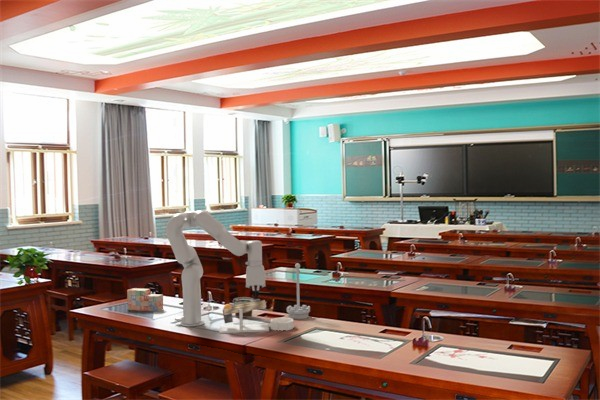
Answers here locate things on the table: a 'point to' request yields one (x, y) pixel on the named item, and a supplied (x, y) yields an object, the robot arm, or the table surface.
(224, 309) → the ball
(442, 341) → the table surface
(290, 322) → the white bowl
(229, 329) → the catapult stand
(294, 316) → the flag stand
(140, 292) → the stack of blocks
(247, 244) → the robot arm
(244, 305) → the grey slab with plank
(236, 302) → the food container
